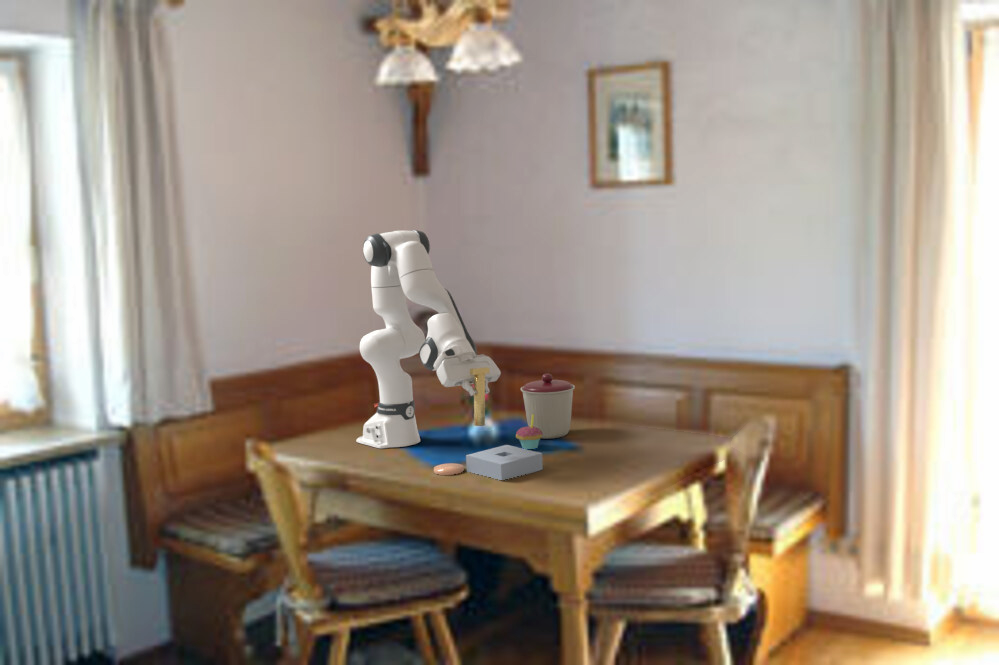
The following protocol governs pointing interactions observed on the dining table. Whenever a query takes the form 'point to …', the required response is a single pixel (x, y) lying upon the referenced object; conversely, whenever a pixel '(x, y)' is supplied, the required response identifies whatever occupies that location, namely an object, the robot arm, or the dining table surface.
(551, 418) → the canister
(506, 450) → the grey square socket block
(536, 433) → the cupcake
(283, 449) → the dining table surface
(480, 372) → the key
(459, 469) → the pink flat disc
